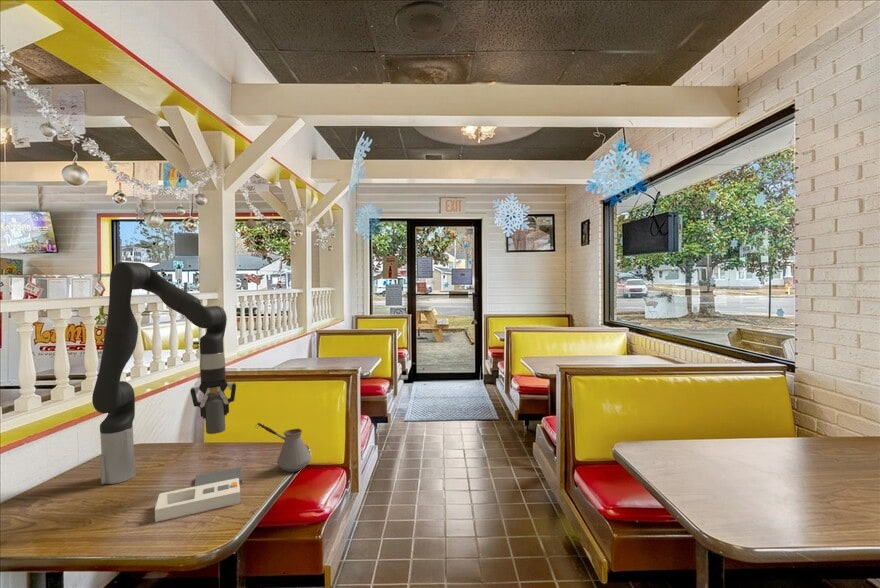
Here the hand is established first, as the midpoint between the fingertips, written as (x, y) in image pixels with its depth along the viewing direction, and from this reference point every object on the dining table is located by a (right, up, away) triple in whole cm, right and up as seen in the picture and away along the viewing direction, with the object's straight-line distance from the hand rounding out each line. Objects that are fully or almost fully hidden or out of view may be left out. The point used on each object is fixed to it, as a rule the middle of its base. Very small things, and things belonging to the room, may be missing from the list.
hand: (215, 416), depth 154 cm
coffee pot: (+19, -21, +12) cm, 31 cm away
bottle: (0, -5, 0) cm, 5 cm away
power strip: (+3, -23, -15) cm, 27 cm away
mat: (+1, -22, +1) cm, 22 cm away
